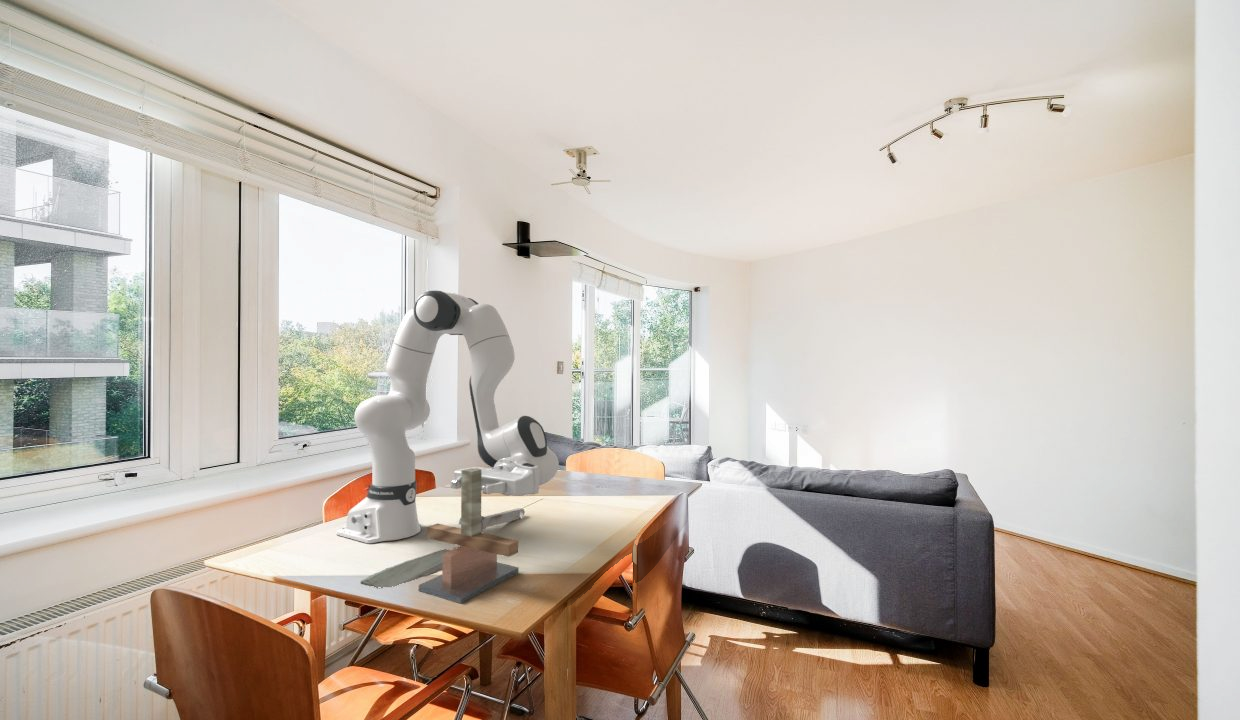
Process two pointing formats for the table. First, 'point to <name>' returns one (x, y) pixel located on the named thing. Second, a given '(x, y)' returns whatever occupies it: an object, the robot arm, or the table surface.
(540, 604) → the table surface
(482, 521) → the wrench
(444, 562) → the stand
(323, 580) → the table surface
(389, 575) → the stone slab
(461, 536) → the brown t-shaped piece
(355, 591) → the table surface
